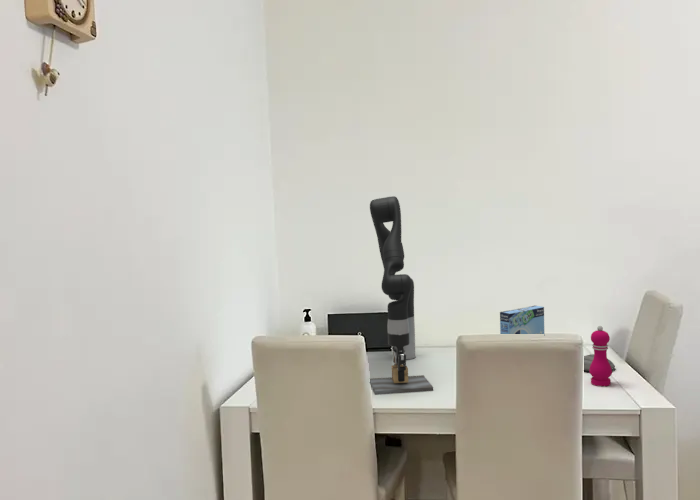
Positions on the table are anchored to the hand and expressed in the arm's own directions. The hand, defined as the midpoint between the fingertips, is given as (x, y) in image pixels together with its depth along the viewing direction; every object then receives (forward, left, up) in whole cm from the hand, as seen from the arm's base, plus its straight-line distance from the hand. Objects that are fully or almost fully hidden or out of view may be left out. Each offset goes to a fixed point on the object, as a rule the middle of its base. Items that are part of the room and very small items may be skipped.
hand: (400, 378), depth 230 cm
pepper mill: (+13, +67, -3) cm, 68 cm away
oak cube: (0, 0, -1) cm, 1 cm away
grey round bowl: (-7, +74, -3) cm, 74 cm away
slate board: (0, 0, -3) cm, 3 cm away
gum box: (-12, +49, -3) cm, 51 cm away
